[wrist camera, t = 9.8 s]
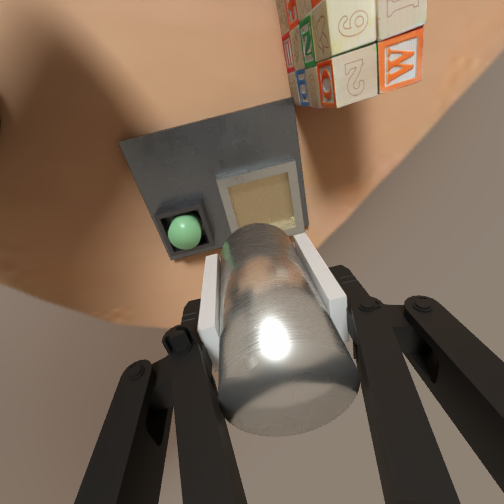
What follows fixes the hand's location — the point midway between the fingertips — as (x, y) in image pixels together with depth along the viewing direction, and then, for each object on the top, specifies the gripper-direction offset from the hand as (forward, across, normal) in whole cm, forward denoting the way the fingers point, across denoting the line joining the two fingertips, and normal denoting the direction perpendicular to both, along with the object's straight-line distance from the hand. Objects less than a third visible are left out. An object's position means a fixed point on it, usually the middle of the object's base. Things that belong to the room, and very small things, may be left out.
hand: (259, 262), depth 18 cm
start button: (+16, -8, -2) cm, 18 cm away
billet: (+1, 0, 0) cm, 1 cm away
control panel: (+18, -2, +1) cm, 18 cm away
